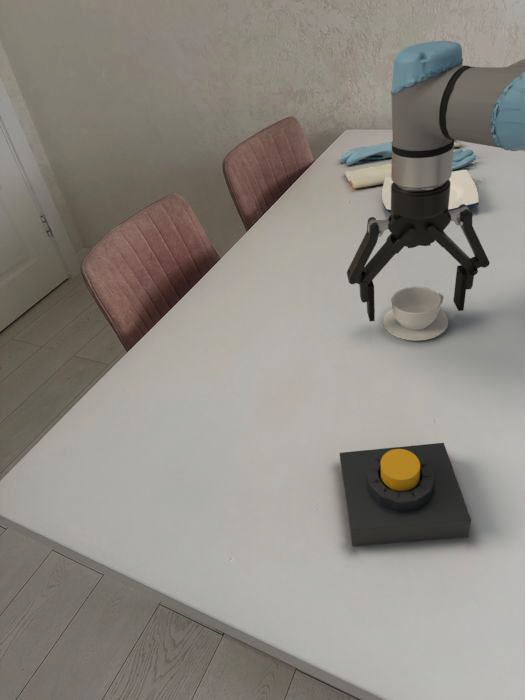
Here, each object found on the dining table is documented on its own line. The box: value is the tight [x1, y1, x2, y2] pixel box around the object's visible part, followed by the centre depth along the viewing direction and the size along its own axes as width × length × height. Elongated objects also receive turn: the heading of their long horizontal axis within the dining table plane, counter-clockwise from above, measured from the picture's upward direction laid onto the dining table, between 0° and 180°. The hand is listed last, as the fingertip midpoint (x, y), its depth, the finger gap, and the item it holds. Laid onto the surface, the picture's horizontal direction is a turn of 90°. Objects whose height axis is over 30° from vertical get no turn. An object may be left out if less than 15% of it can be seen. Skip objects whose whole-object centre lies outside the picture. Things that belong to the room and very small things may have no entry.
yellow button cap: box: [381, 449, 420, 491], centre depth 53 cm, size 4×4×2 cm
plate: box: [381, 169, 480, 214], centre depth 113 cm, size 20×20×3 cm
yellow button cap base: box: [339, 442, 472, 547], centre depth 55 cm, size 12×10×5 cm
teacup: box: [382, 286, 449, 341], centre depth 79 cm, size 10×10×5 cm
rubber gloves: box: [339, 141, 477, 190], centre depth 132 cm, size 27×33×6 cm
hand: (414, 311), depth 79 cm, fingers open, 13 cm apart
